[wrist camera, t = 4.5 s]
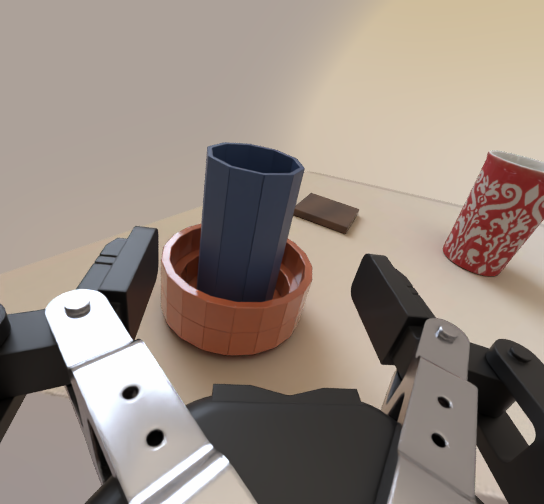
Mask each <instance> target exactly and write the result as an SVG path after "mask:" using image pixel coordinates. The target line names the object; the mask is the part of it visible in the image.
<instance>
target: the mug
mask: <svg viewBox="0 0 544 504" xmlns="http://www.w3.org/2000/svg"><path fill="white" fill-rule="evenodd" d="M543 220H544V162H541V161H538V160H535V159H531V158H527V157H523V156H519V155H515V154H512V153H507V152H502V151H495V150H492V151H489V152H488V154H487V159H486V161H485V163H484V165H483V167H482V170H481V171H480V174H479V175H478V178H477V180H476V182H475V184H474V186H473V188H472V190H471V192H470V194H469V196H468V198H467V201H466V202H465V204H464V206H463V208H462V210H461V212H460V214H459V216H458V218H457V220H456V222H455V225H454V227H453V229H452V231H451V233H450V235H449V237H448V238H447V240H446V242H445V245H444V247H443V252H444V254H445V255H446V257H447V258H448V259H450V260H451V261H452V262H454V263H455V264H457V265H458V266H460V267H462V268H464V269H466V270H468V271H470V272H473V273H476V274H479V275H484V276H496V275H498V274H499V273H500V272H501V271H502V270H503V269H504V268H505V266H506V265H507V264H508V262H509V261H510V260H511V259H512V257H513V256H514V255H515V254H516V252H517V251H518V250H519V249H520V248H521V246H522V245H523V244H524V243H525V242H526V240H527V239H528V238H529V237H530V235H531V234H532V233H533V232H534V231H535V229H536V228H537V227H538V226H539V225H540V223H541V222H542V221H543Z"/></svg>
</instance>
